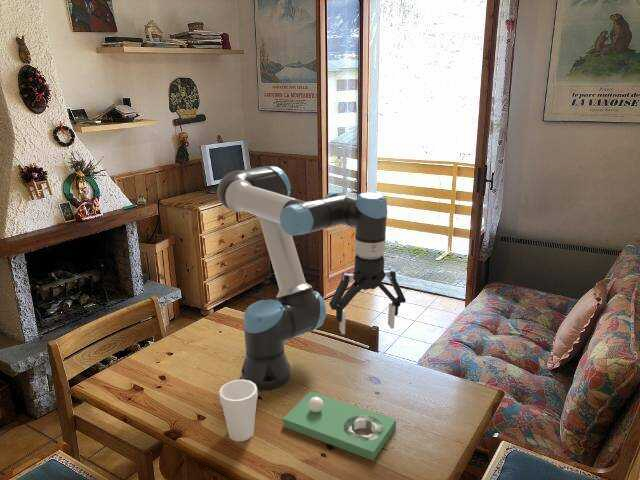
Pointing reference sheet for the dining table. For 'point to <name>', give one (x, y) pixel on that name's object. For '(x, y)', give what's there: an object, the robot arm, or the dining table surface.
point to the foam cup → (239, 408)
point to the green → (341, 425)
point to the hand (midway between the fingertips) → (366, 329)
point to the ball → (316, 404)
